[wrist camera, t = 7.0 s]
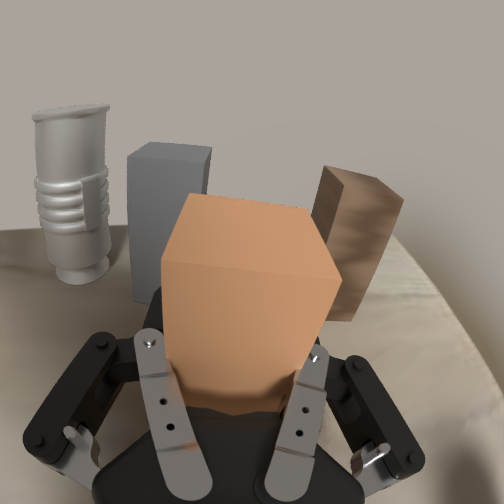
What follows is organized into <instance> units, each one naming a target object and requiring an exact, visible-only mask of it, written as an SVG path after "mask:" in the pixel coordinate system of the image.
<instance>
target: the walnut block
mask: <svg viewBox="0 0 504 504" xmlns="http://www.w3.org/2000/svg"><path fill="white" fill-rule="evenodd" d="M403 201H404V199H402V198H401V197H400V196H399V195H398V194H396V193H395V192H394V191H392V190H391V189H390V188H389V187H387V186H386V185H385V184H384V183H382V182H381V181H380V180H378V179H377V178H375V177H371V176H367V175H363V174H359V173H355V172H350V171H347V170H342V169H338V168H334V167H329V166H324V168H323V172H322V176H321V180H320V184H319V187H318V191H317V195H316V199H315V203H314V206H313V210H312V214H311V218H312V219H313V221H314V223H315V225H316V227H317V229H318V231H319V233H320V235H321V237H322V239H323V241H324V243H325V245H326V247H327V249H328V251H329V253H330V255H331V257H332V259H333V261H334V263H335V265H336V268H337V270H338V272H339V274H340V276H341V278H342V282H341V285H340V287H339V290H338V292H337V294H336V297H335V299H334V301H333V304H332V306H331V308H330V310H329V313H328V315H327V317H326V319H325V321H350V322H351V320H352V318H353V317H354V315H355V313H356V311H357V309H358V307H359V305H360V303H361V301H362V299H363V297H364V294H365V292H366V290H367V288H368V286H369V284H370V282H371V280H372V277H373V275H374V273H375V271H376V269H377V266H378V264H379V262H380V260H381V257H382V255H383V253H384V250H385V248H386V245H387V243H388V240H389V238H390V236H391V233H392V230H393V228H394V225H395V223H396V220H397V217H398V215H399V212H400V209H401V206H402V204H403Z"/></svg>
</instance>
